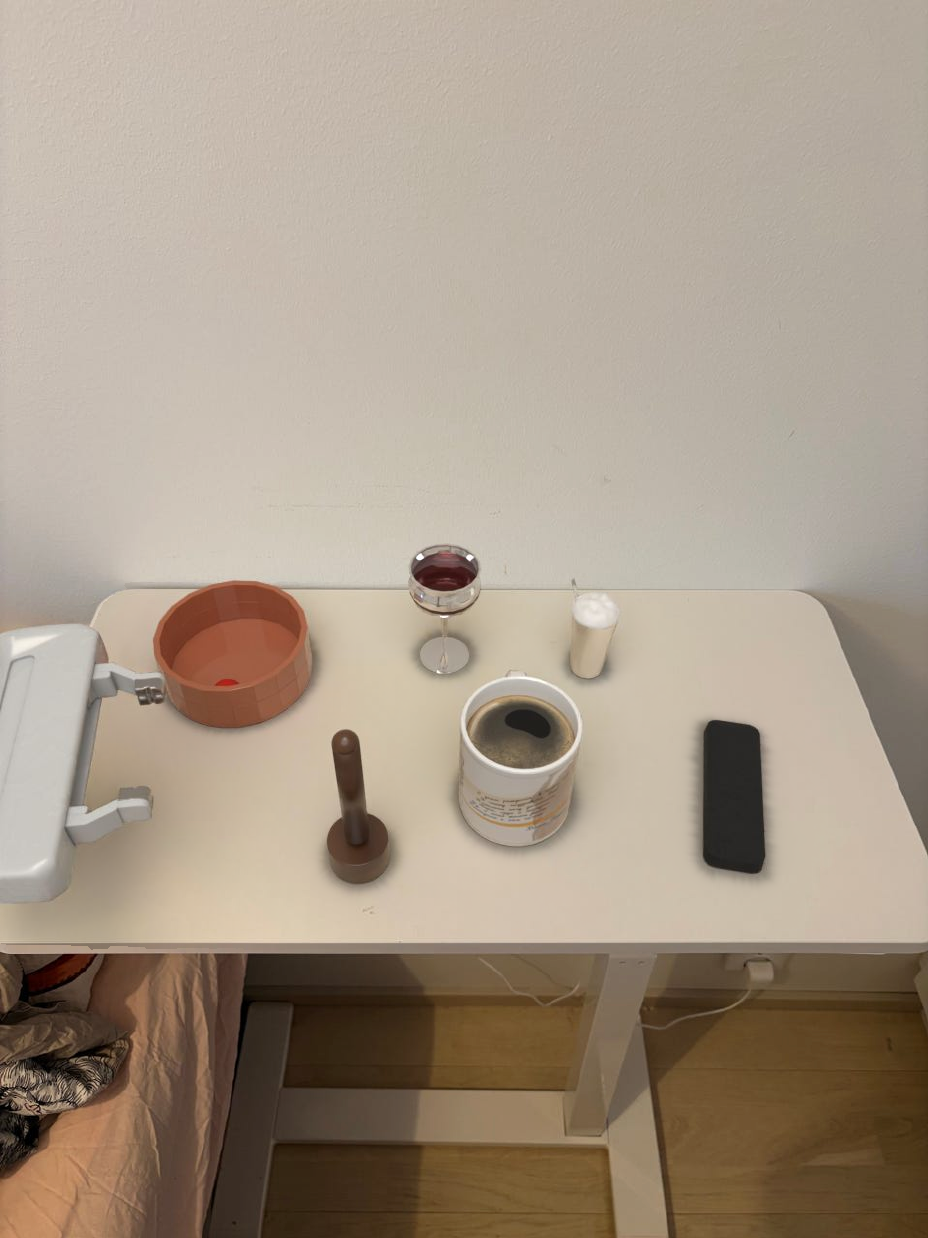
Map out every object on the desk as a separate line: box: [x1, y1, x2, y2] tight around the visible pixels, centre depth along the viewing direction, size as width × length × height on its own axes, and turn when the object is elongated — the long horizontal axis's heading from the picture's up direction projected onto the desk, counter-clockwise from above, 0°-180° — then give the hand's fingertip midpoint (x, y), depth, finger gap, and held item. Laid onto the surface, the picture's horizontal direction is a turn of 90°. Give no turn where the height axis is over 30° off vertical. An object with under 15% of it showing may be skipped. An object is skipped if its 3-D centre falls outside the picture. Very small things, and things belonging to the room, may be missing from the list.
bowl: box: [152, 579, 313, 729], centre depth 90 cm, size 14×14×6 cm
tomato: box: [214, 679, 239, 686], centre depth 87 cm, size 3×3×3 cm
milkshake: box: [569, 578, 621, 680], centre depth 90 cm, size 5×5×10 cm
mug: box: [458, 669, 584, 847], centre depth 79 cm, size 10×12×11 cm
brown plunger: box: [326, 728, 391, 885], centre depth 72 cm, size 5×5×17 cm
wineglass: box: [408, 543, 482, 675], centre depth 90 cm, size 7×7×12 cm
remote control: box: [702, 719, 766, 874], centre depth 82 cm, size 5×2×15 cm
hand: (158, 742), depth 62 cm, fingers open, 8 cm apart
